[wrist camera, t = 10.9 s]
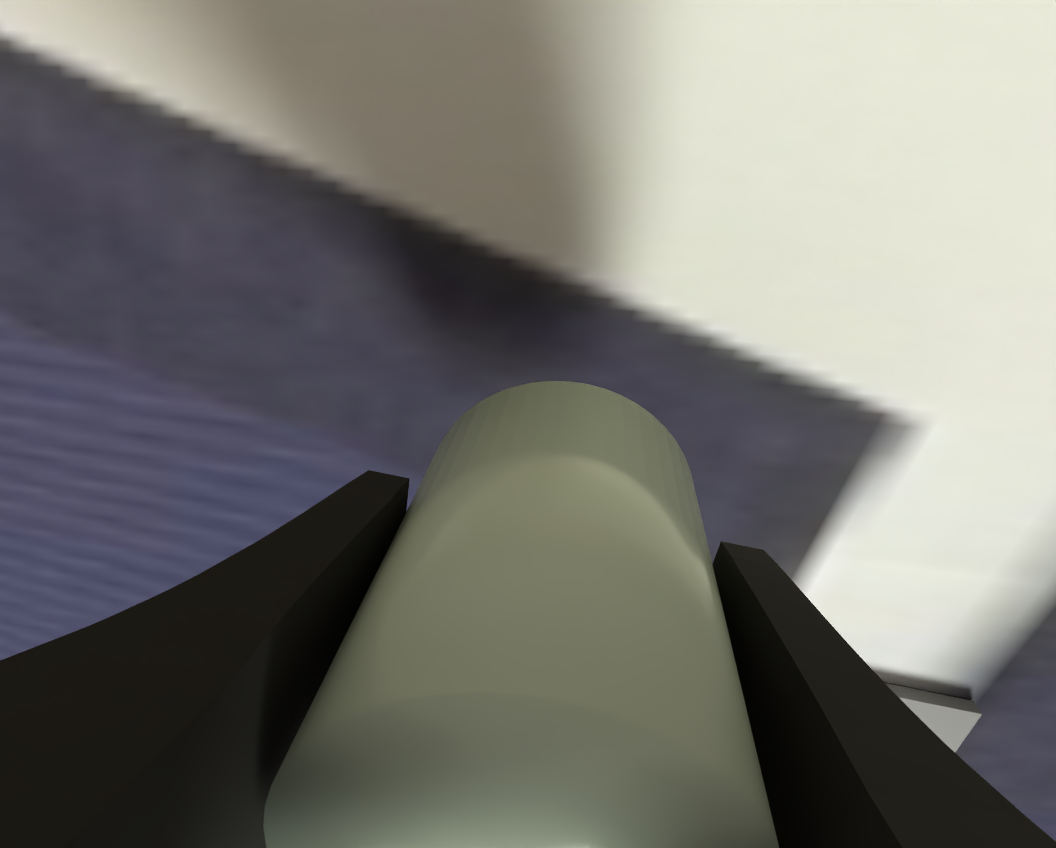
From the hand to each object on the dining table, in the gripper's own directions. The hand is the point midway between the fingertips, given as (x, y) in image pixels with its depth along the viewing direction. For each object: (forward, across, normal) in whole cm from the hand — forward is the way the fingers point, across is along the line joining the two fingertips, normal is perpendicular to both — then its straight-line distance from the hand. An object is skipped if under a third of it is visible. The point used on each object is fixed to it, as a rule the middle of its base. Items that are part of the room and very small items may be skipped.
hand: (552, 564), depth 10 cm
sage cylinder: (+2, 0, 0) cm, 2 cm away
